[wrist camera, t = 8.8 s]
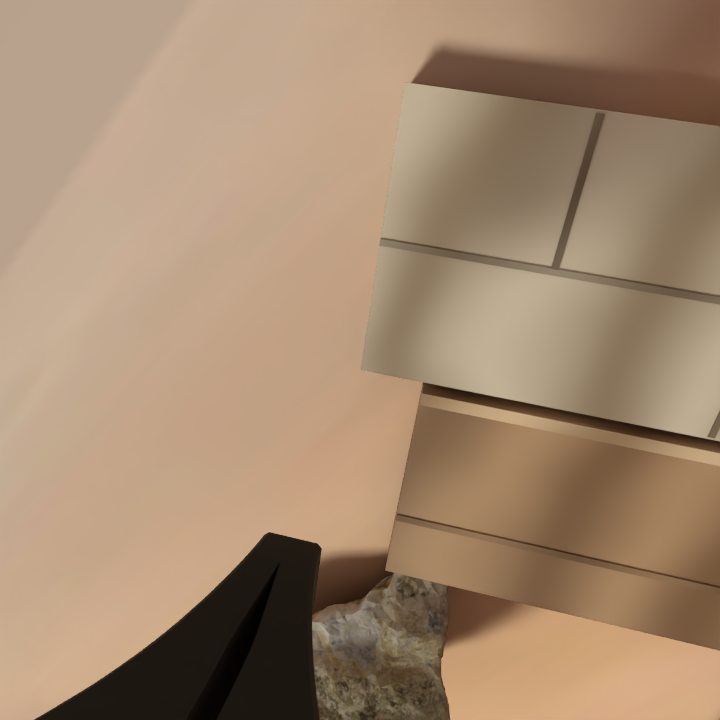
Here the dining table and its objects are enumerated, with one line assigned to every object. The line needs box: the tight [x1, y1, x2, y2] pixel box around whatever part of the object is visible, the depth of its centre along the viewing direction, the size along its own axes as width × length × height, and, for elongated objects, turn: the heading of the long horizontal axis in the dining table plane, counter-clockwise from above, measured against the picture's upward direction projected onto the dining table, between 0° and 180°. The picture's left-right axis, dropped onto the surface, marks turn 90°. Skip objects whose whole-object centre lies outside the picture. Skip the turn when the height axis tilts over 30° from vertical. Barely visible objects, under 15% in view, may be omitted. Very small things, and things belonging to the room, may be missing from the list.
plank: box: [385, 382, 720, 650], centre depth 22 cm, size 15×9×2 cm, turn 82°
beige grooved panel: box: [361, 82, 720, 441], centre depth 18 cm, size 20×10×2 cm, turn 82°
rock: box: [312, 573, 450, 720], centre depth 25 cm, size 11×6×10 cm
